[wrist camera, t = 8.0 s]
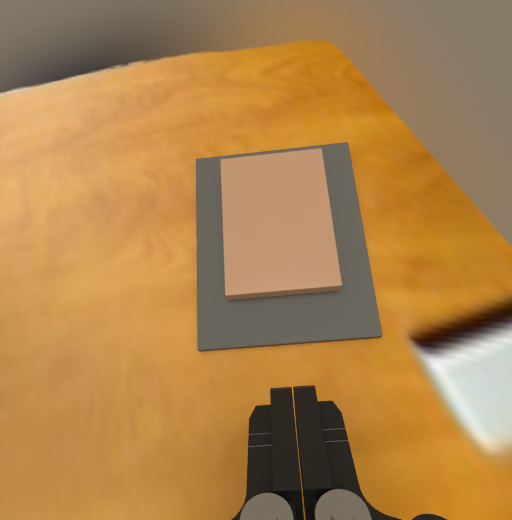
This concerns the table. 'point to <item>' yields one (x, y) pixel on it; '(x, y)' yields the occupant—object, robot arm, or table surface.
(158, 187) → the table surface
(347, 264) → the charcoal mat
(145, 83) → the table surface
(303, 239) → the terracotta tile
